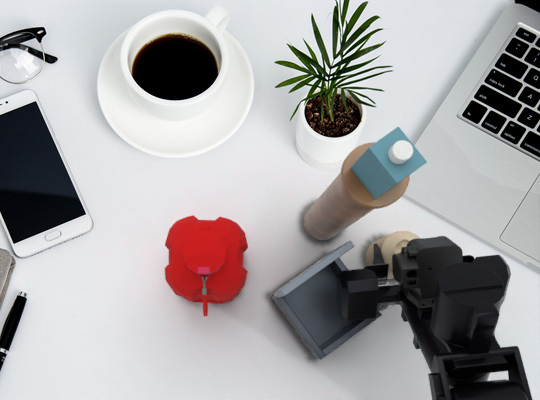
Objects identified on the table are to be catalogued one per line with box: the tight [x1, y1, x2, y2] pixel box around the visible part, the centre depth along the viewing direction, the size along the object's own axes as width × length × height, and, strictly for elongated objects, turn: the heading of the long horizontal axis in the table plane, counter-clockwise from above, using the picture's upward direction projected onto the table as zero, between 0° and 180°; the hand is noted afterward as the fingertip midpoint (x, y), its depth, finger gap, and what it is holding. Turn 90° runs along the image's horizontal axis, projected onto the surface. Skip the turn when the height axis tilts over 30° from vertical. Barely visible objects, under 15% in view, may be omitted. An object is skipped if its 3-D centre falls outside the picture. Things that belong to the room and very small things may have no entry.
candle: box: [365, 230, 420, 280], centre depth 79 cm, size 6×6×10 cm
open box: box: [270, 257, 383, 360], centre depth 80 cm, size 10×10×6 cm
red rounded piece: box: [164, 215, 249, 318], centre depth 72 cm, size 9×11×25 cm
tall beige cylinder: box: [303, 141, 410, 241], centre depth 70 cm, size 6×6×30 cm
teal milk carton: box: [351, 126, 428, 199], centre depth 51 cm, size 4×3×8 cm
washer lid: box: [272, 240, 355, 298], centre depth 73 cm, size 10×10×1 cm
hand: (398, 243), depth 77 cm, fingers closed on candle, 5 cm apart
